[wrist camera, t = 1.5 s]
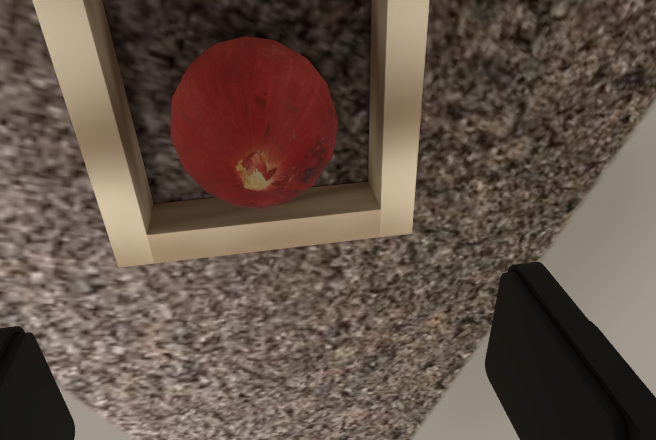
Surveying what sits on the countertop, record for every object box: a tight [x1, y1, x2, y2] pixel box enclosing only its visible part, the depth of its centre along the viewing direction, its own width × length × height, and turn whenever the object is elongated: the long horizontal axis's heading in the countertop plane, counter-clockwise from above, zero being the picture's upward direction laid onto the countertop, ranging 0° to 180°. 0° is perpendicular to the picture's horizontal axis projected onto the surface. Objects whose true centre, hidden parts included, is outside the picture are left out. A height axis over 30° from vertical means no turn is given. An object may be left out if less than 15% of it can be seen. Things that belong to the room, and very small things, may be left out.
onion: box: [170, 36, 338, 209], centre depth 18 cm, size 6×6×8 cm
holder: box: [32, 0, 429, 267], centre depth 21 cm, size 13×13×2 cm
